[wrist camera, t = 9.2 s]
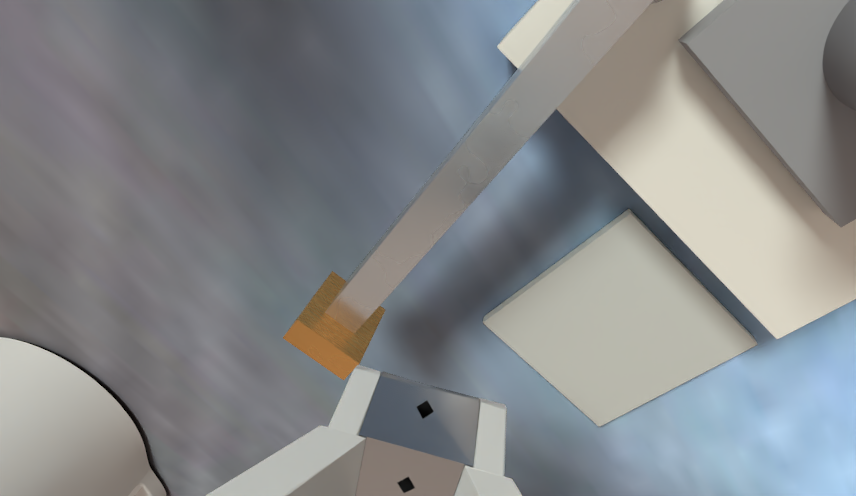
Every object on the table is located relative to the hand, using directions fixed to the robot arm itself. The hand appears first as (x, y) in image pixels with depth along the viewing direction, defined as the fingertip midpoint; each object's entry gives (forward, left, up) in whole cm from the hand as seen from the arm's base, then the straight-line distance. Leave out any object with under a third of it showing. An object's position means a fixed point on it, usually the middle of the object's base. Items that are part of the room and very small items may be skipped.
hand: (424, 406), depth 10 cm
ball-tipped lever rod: (+2, +2, -9) cm, 9 cm away
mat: (-1, -8, -12) cm, 15 cm away
